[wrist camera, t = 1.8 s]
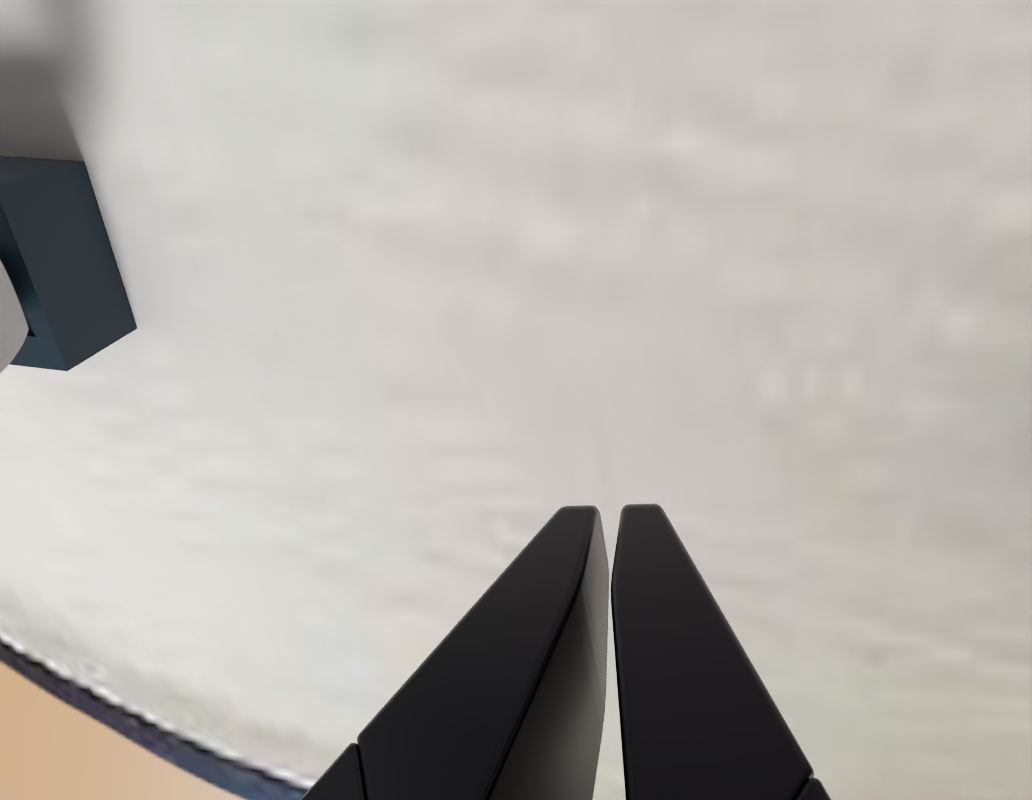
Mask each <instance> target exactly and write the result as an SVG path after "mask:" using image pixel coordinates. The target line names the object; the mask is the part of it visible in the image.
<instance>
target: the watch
mask: <svg viewBox="0 0 1032 800" xmlns="http://www.w3.org/2000/svg"><path fill="white" fill-rule="evenodd" d="M135 329H137V328H136V324H135V321H134V318H133V315H132V312H131V309H130V306H129V302H128V299H127V296H126V293H125V290H124V287H123V283H122V280H121V277H120V274H119V271H118V268H117V264H116V261H115V258H114V255H113V252H112V249H111V246H110V242H109V239H108V236H107V233H106V230H105V227H104V223H103V220H102V217H101V214H100V211H99V208H98V205H97V201H96V198H95V195H94V192H93V189H92V186H91V182H90V179H89V176H88V173H87V170H86V167H85V163H84V161H71V160H54V159H38V158H21V157H5V156H0V373H1V372H2V371H3V370H4V369H5V368H6V367H7V366H8V365H9V364H12V365H20V366H29V367H37V368H45V369H54V370H62V371H68V370H70V369H71V368H73V367H75V366H76V365H78V364H80V363H81V362H83V361H84V360H86V359H88V358H89V357H91V356H93V355H94V354H96V353H98V352H99V351H101V350H102V349H104V348H106V347H107V346H109V345H111V344H112V343H114V342H116V341H117V340H119V339H120V338H122V337H124V336H125V335H127V334H129V333H130V332H132V331H134V330H135Z"/></svg>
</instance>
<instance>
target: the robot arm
mask: <svg viewBox="0 0 1032 800" xmlns="http://www.w3.org/2000/svg"><path fill="white" fill-rule="evenodd" d="M608 597H609V568H608V559H607V553H606V547H605V541H604V535H603V528H602V522H601V516H600V513H599V510H598V509H597V508H596V507H595V506H565V507H562V508H560V509H559V510H558V511H557V512H556V513H555V514H554V515H553V517H552V518H551V519H550V520H549V521H548V522H547V523H546V524H545V526H544V527H543V528H542V529H541V530H540V531H539V532H538V533H537V535H536V536H535V537H534V538H533V539H532V540H531V541H530V542H529V544H528V545H527V546H526V547H525V548H524V549H523V550H522V551H521V553H520V554H519V555H518V556H517V557H516V558H515V559H514V560H513V562H512V563H511V564H510V565H509V566H508V567H507V568H506V569H505V571H504V572H503V573H502V574H501V575H500V576H499V577H498V578H497V580H496V581H495V582H494V583H493V584H492V585H491V586H490V587H489V589H488V590H487V591H486V592H485V593H484V594H483V595H482V596H481V598H480V599H479V600H478V601H477V602H476V603H475V604H474V605H473V607H472V608H471V609H470V610H469V611H468V612H467V613H466V615H465V616H464V617H463V618H462V619H461V620H460V621H459V622H458V624H457V625H456V626H455V627H454V628H453V629H452V630H451V631H450V633H449V634H448V635H447V636H446V637H445V638H444V639H443V640H442V642H441V643H440V644H439V645H438V646H437V647H436V648H435V649H434V651H433V652H432V653H431V654H430V655H429V656H428V657H427V658H426V660H425V661H424V662H423V663H422V664H421V665H420V666H419V667H418V669H417V670H416V671H415V672H414V673H413V674H412V675H411V676H410V678H409V679H408V680H407V681H406V682H405V683H404V684H403V685H402V687H401V688H400V689H399V690H398V691H397V692H396V693H395V694H394V696H393V697H392V698H391V699H390V700H389V701H388V702H387V703H386V705H385V706H384V707H383V708H382V709H381V710H380V711H379V712H378V714H377V715H376V716H375V717H374V718H373V719H372V720H371V722H370V723H369V724H368V725H367V726H366V727H365V728H364V729H363V731H362V732H361V733H360V734H359V735H358V738H357V742H358V744H356V743H351V744H350V745H349V746H348V747H347V748H346V749H345V750H344V751H343V753H342V754H341V755H340V756H339V757H338V758H337V759H336V760H335V762H334V763H333V764H332V765H331V766H330V767H329V768H328V769H327V771H326V772H325V773H324V774H323V775H322V776H321V777H320V778H319V779H318V781H317V782H316V783H315V784H314V785H313V786H312V787H311V788H310V789H309V790H308V791H307V792H306V793H305V795H304V796H303V797H302V798H301V799H300V800H592V798H593V791H594V785H595V778H596V771H597V764H598V757H599V751H600V744H601V737H602V730H603V721H604V712H605V698H606V672H607V635H608ZM611 605H612V619H613V632H614V645H615V659H616V672H617V685H618V699H619V712H620V725H621V739H622V752H623V765H624V779H625V792H626V800H831V799H830V797H829V795H828V794H827V792H826V790H825V788H824V787H823V785H822V783H821V782H820V781H819V780H818V779H816V778H813V776H814V773H813V769H812V767H811V765H810V763H809V762H808V760H807V758H806V757H805V755H804V753H803V751H802V750H801V748H800V746H799V744H798V743H797V741H796V739H795V737H794V736H793V734H792V732H791V731H790V729H789V727H788V725H787V724H786V722H785V720H784V718H783V717H782V715H781V713H780V711H779V710H778V708H777V706H776V705H775V703H774V701H773V699H772V698H771V696H770V694H769V692H768V691H767V689H766V687H765V685H764V684H763V682H762V680H761V679H760V677H759V675H758V673H757V672H756V670H755V668H754V666H753V665H752V663H751V661H750V659H749V658H748V656H747V654H746V653H745V651H744V649H743V647H742V646H741V644H740V642H739V640H738V639H737V637H736V635H735V633H734V632H733V630H732V628H731V627H730V625H729V623H728V621H727V620H726V618H725V616H724V614H723V613H722V611H721V609H720V607H719V606H718V604H717V602H716V601H715V599H714V597H713V595H712V594H711V592H710V590H709V588H708V587H707V585H706V583H705V581H704V580H703V578H702V576H701V574H700V573H699V571H698V569H697V568H696V566H695V564H694V562H693V561H692V559H691V557H690V555H689V554H688V552H687V550H686V548H685V547H684V545H683V543H682V542H681V540H680V538H679V536H678V535H677V533H676V531H675V529H674V528H673V526H672V524H671V522H670V521H669V519H668V517H667V516H666V514H665V512H664V510H663V509H662V508H661V507H660V506H659V505H657V504H629V505H626V506H624V507H623V509H622V510H621V516H620V523H619V530H618V537H617V544H616V551H615V557H614V564H613V571H612V581H611Z"/></svg>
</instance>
